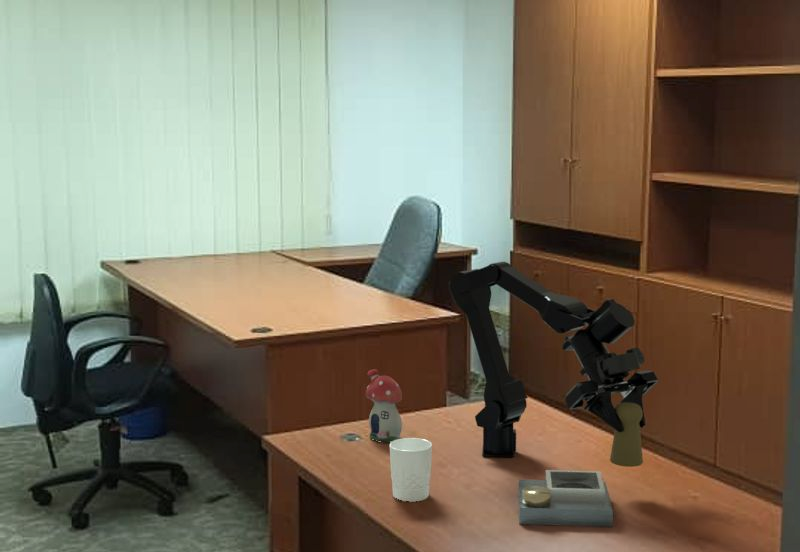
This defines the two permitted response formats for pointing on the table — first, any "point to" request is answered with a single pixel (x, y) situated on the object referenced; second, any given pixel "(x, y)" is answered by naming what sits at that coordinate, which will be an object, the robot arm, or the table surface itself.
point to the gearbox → (565, 500)
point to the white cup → (410, 468)
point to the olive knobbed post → (627, 436)
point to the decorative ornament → (384, 407)
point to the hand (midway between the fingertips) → (632, 428)
